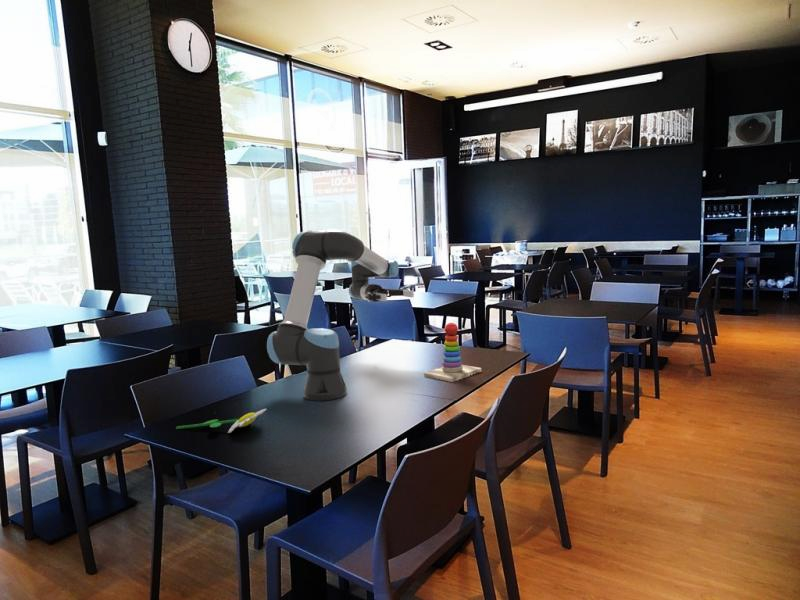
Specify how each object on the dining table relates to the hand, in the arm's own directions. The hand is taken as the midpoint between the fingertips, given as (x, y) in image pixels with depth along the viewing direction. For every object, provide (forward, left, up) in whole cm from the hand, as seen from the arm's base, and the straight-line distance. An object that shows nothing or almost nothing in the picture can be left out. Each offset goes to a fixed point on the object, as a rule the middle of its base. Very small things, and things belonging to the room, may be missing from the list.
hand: (399, 295), depth 228 cm
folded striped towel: (+3, -25, -30) cm, 39 cm away
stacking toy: (+2, -25, -29) cm, 38 cm away
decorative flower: (-86, -7, -30) cm, 91 cm away
